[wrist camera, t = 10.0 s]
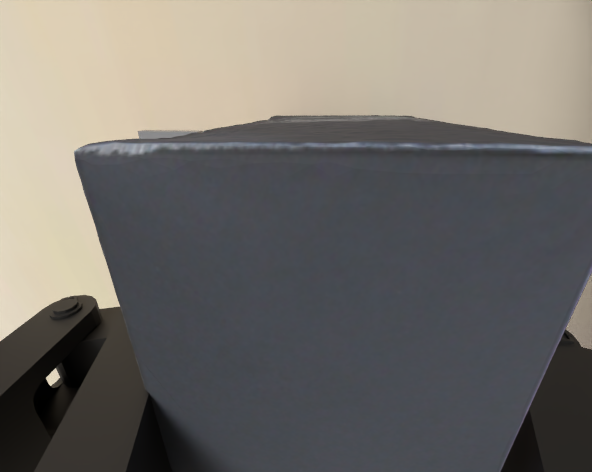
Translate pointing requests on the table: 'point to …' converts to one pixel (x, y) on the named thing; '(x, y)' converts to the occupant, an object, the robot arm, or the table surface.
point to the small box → (342, 286)
